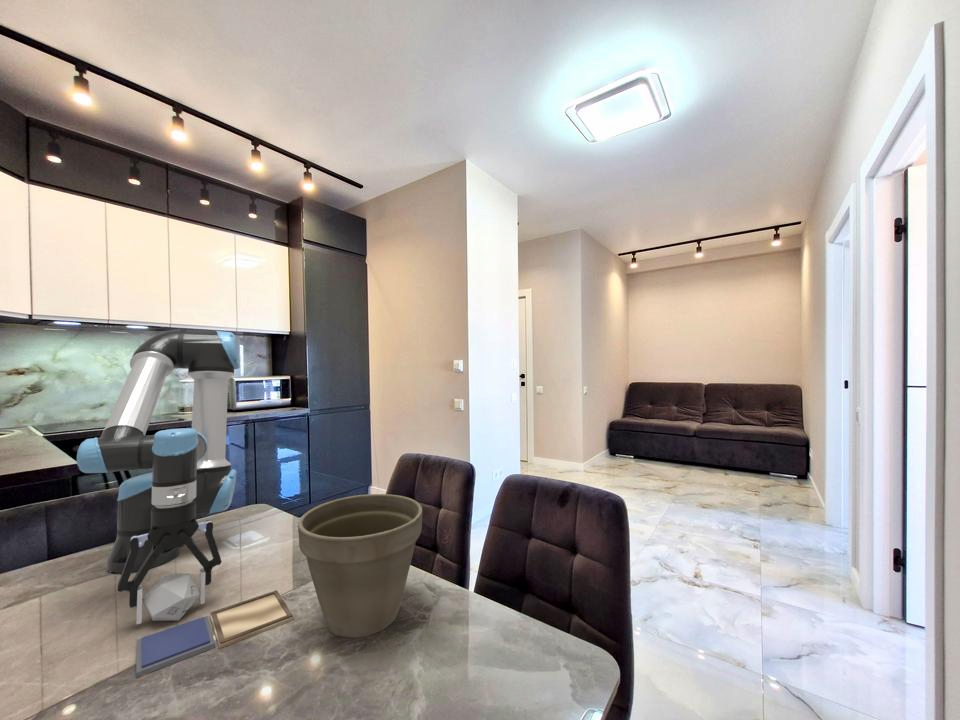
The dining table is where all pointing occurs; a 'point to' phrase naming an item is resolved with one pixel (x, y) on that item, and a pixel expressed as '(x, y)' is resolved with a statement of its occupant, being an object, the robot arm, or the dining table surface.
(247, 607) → the board
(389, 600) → the plant pot
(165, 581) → the die
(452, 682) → the dining table surface
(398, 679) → the dining table surface
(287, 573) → the dining table surface
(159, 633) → the ink pad
